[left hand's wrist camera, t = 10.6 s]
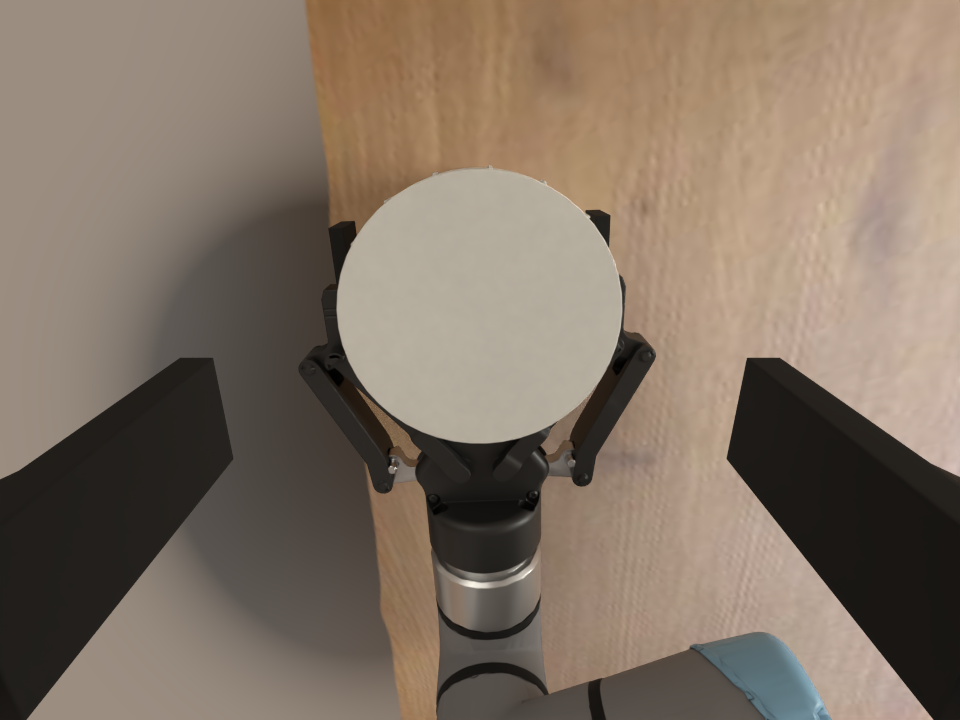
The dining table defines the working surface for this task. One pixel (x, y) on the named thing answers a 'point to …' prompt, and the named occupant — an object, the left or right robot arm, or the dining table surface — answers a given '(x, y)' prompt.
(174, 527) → the left robot arm
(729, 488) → the dining table surface
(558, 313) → the lid
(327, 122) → the dining table surface
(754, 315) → the dining table surface
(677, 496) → the dining table surface
